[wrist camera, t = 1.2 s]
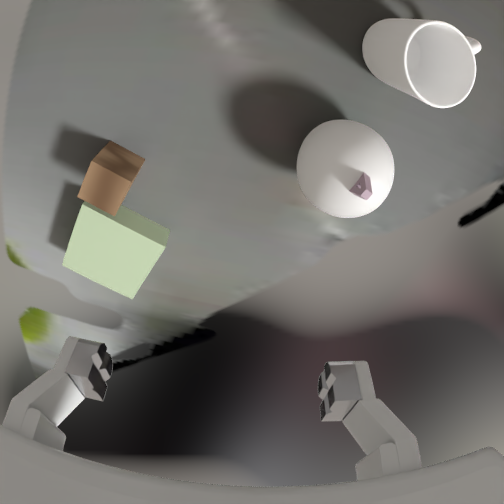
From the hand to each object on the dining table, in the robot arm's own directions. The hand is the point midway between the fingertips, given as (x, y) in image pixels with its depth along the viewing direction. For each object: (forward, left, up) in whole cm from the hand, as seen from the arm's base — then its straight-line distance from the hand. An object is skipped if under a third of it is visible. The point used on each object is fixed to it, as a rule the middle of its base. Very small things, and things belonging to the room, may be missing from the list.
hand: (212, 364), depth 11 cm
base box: (-4, -22, -29) cm, 37 cm away
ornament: (+12, +5, -29) cm, 31 cm away
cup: (+10, +21, -29) cm, 37 cm away
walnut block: (-8, -11, -29) cm, 32 cm away
